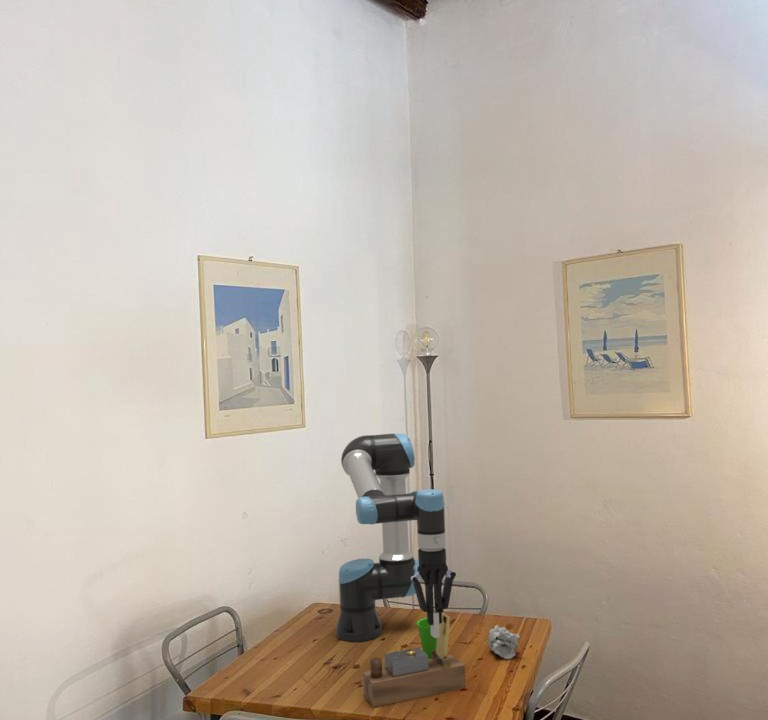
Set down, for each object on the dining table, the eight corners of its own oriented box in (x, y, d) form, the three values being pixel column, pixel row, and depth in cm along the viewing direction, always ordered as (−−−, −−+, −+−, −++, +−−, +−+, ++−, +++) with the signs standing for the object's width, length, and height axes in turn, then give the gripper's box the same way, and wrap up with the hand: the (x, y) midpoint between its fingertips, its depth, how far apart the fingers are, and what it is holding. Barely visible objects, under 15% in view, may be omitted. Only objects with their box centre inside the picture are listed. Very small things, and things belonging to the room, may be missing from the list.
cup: (447, 666, 205) (445, 628, 205) (415, 665, 206) (414, 627, 207) (450, 654, 213) (448, 617, 214) (420, 653, 215) (418, 616, 216)
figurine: (505, 628, 206) (501, 607, 218) (484, 653, 208) (480, 631, 220) (528, 645, 207) (522, 623, 218) (506, 670, 208) (502, 647, 220)
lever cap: (385, 669, 190) (384, 651, 190) (419, 662, 194) (418, 645, 194) (393, 677, 184) (392, 659, 185) (428, 670, 188) (427, 652, 188)
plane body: (363, 694, 189) (362, 656, 189) (452, 676, 198) (450, 640, 198) (373, 707, 181) (371, 667, 182) (465, 687, 190) (463, 649, 191)
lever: (433, 657, 195) (437, 611, 196) (438, 656, 196) (442, 611, 196) (442, 664, 189) (447, 618, 190) (447, 664, 190) (451, 618, 191)
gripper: (414, 553, 187) (418, 644, 186) (459, 548, 192) (463, 636, 191) (404, 547, 194) (407, 635, 194) (447, 542, 199) (451, 628, 198)
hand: (435, 636), depth 192 cm, fingers closed
